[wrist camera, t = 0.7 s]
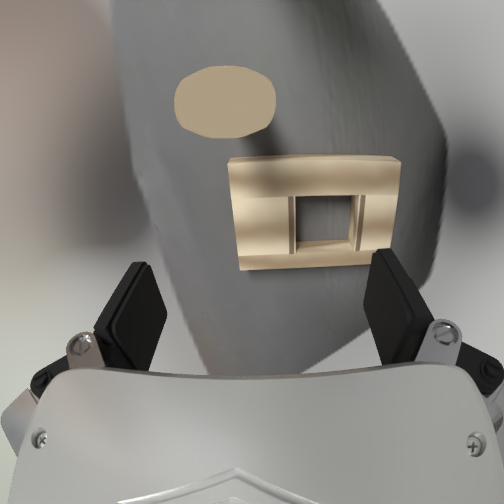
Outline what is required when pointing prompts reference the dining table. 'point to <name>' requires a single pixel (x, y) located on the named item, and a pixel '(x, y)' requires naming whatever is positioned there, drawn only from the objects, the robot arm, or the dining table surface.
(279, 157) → the board
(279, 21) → the dining table surface
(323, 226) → the dining table surface
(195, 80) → the handle
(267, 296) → the dining table surface
